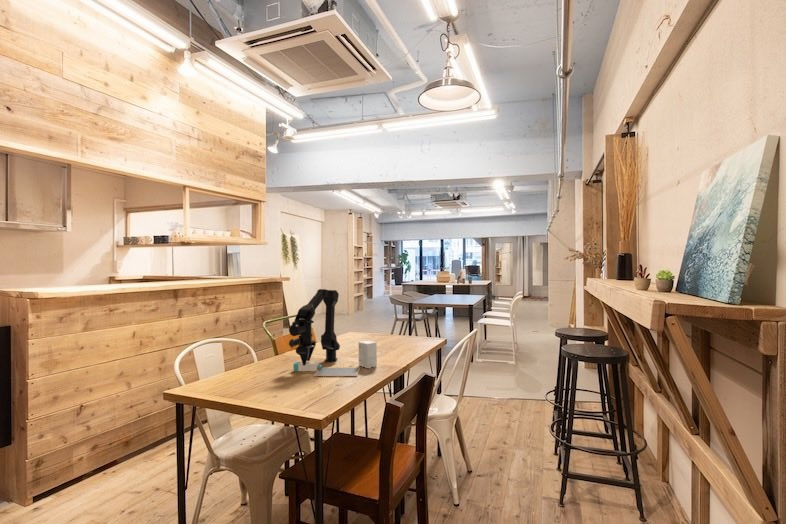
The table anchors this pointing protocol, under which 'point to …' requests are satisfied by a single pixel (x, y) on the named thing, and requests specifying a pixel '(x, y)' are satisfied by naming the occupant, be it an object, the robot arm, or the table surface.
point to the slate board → (337, 371)
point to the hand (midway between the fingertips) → (306, 363)
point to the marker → (307, 366)
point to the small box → (367, 354)
